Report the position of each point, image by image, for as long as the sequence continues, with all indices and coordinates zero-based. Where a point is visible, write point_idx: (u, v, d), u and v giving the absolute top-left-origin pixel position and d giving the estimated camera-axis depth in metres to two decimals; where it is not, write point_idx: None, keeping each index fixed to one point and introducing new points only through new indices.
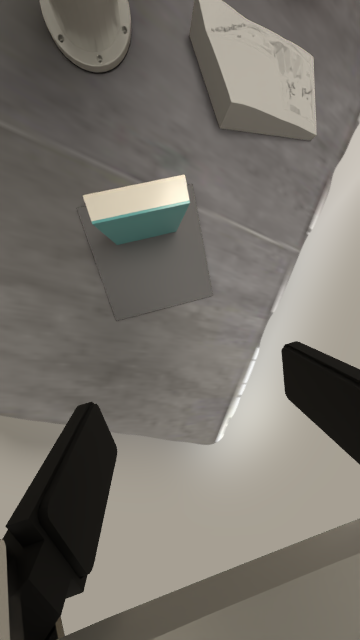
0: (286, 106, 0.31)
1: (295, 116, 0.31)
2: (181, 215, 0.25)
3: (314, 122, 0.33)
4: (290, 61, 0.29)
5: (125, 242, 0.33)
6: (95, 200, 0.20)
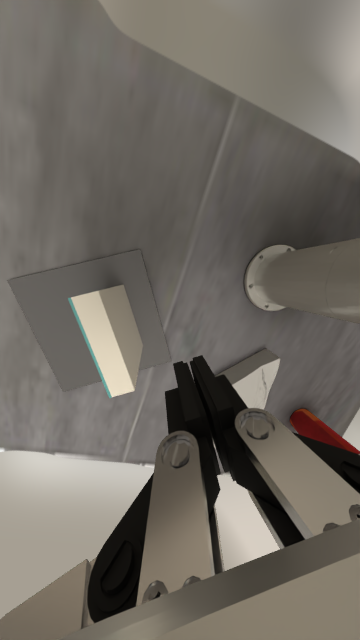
0: None
1: None
2: None
3: None
4: None
5: None
6: (95, 304, 0.17)
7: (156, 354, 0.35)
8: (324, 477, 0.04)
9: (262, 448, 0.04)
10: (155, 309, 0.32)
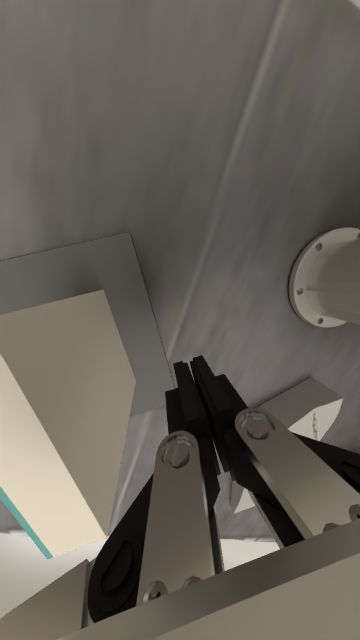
0: None
1: (247, 498, 0.28)
2: None
3: (244, 508, 0.30)
4: None
5: None
6: None
7: (156, 393, 0.23)
8: (324, 477, 0.04)
9: (262, 448, 0.04)
10: (154, 327, 0.21)
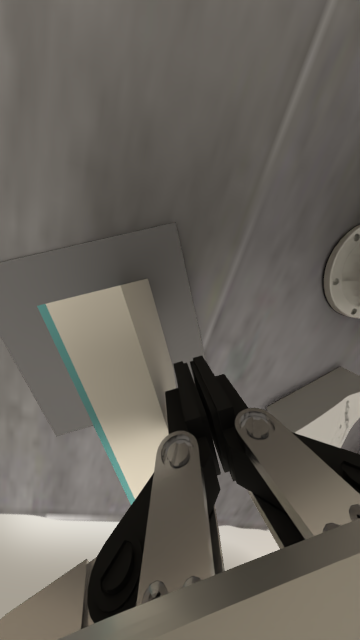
0: None
1: None
2: None
3: None
4: None
5: None
6: (111, 321, 0.07)
7: None
8: (324, 477, 0.04)
9: (262, 448, 0.04)
10: (194, 316, 0.22)
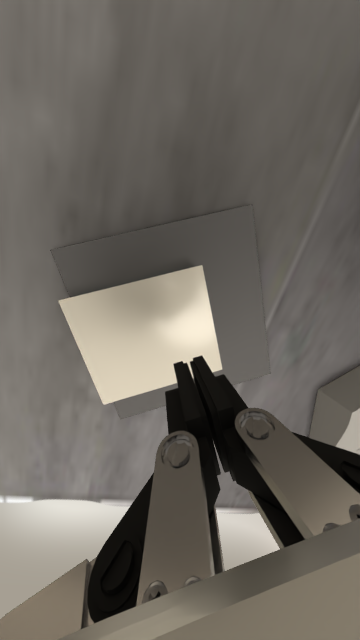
0: None
1: None
2: None
3: None
4: None
5: None
6: None
7: (252, 364, 0.24)
8: (324, 477, 0.04)
9: (262, 448, 0.04)
10: (260, 299, 0.22)
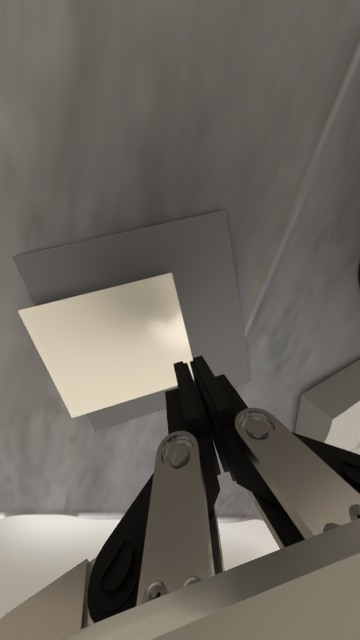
0: None
1: None
2: None
3: None
4: None
5: None
6: None
7: (231, 372, 0.24)
8: (324, 477, 0.04)
9: (262, 448, 0.04)
10: (238, 305, 0.22)
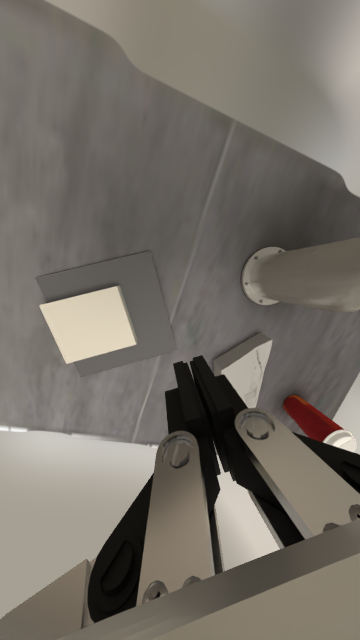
0: None
1: None
2: None
3: None
4: (249, 399, 0.44)
5: None
6: None
7: (163, 343, 0.39)
8: (324, 477, 0.04)
9: (262, 448, 0.04)
10: (163, 303, 0.37)
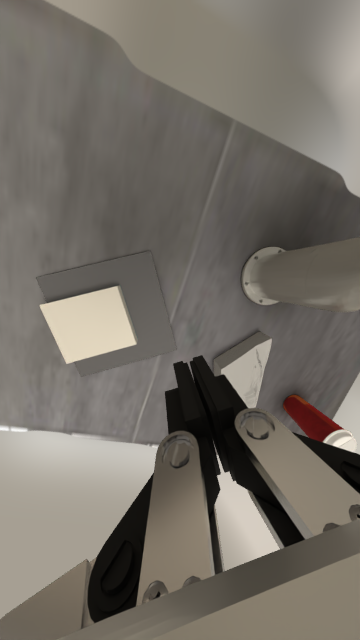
0: None
1: None
2: None
3: None
4: (249, 398, 0.44)
5: None
6: None
7: (163, 343, 0.39)
8: (324, 477, 0.04)
9: (262, 448, 0.04)
10: (163, 303, 0.37)
